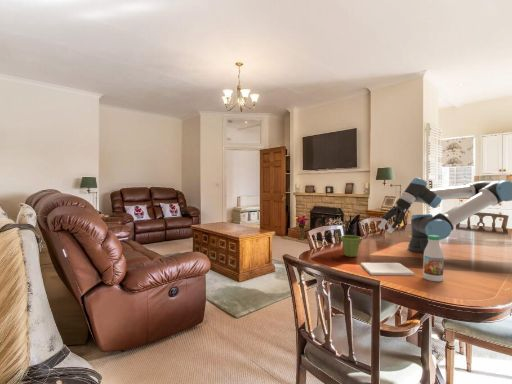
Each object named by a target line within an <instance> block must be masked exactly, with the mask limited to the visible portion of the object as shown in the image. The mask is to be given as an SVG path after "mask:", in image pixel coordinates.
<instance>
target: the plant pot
mask: <svg viewBox="0 0 512 384" xmlns="http://www.w3.org/2000/svg"><path fill="white" fill-rule="evenodd" d="M340 238H341V242H342V247H343V253H344V256H346V257H349V258H352V257H357V256H358V254H359V253H358V252H359V246H360V242H361V239H362V237H361V236H358V235H353V234H352V235H350V234H348V235H345V234H344V235H341V236H340Z"/></svg>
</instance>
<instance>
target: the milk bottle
mask: <svg viewBox="0 0 512 384" xmlns="http://www.w3.org/2000/svg"><path fill="white" fill-rule="evenodd" d="M422 266H423V269H422V270H423V273H422V274H423V275H422V276H423V279H425V280H427V281H430V282H443V280H444V252H443V249H442V247H441V244H440V236H437V235H428V244H427V246H426V248H425V250H424V253H423V264H422Z"/></svg>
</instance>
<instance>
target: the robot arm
mask: <svg viewBox="0 0 512 384" xmlns="http://www.w3.org/2000/svg"><path fill="white" fill-rule="evenodd" d="M427 185H428V183H427V181H426V180H425V179H423V178H421V177H414V178H413V179H412V180H411V181H410V182H409V184H408V185H407V187H406V188H405V189H404V191H403V192H401V195H400V198H398V199H397V201H396V202H395V204H396V206H395V205H393V206H392V208H391V209H389V210H388V211H387V212H386V213H385V214H384V215H382V216H383V217H382V218H383V219H382V220H381V222H380V223H379V224H378V225H377V229H380V230H383V228H384V227H385V226H386V224H387V223H388V222H389V220H390V219H392V217H394V216H395V218H394V220H393V221H392V222H391V224H390V225H389V227H388V228H387V229H386V232H387V233H388V234H393V232H394V230H396V228H397V226H398V225H401V224H402V223H403V221H404V218H405V216H406V214H407V212H408V210H409V209H410V207H411V206H412V205H413V204H414V203H420V204H426V205H428V206H429V207H431V208H436V207H438V206H439V205H440V204H441V202H442V201H445V200H452V199H453V200H454V199H461V198H463V199H464V198H467V200H465V201H463V202H461V203H460V204H458V205H457V206H455V207H453V208H451V209H450V210H448V211H446V212H445V213H441V212H438V213H436V214H435V215H434V216H433V214H431V213H429V214H426V213H425V214H412V215H411V219H410V221H411V222H410V223H411V225H410V227H411V229H410V230H411V231H410V232H411V233H410V235H411V236H410V240H409V242H408V245H407V249H408V250H409V251H412V252H416V253H421V254H422V253H423V254H424V250H425V248H426V246H427V244H428V235H437V236H440V240H445V239H447V238H448V237H449V236H450V235H451V232H452V231H453V230H454V229H455V227H456V226H457V225H458V224H460V223H462V222H464V221H465V220H467V219H469V218H471V217H472V216H474V215H476V214H477V213H479V212H481V211H482V210H485V209H486V208H487V207H488V208H489V206H492V207H494V206H497V205H499V204H500V203H503V202H510V201H512V181H510V180H507V179H500V180H498V179H495V180H493V179H487V180H486V179H485V180H481V181H476V182H469V183H466V184H465V185H457V186H448V187H436V188H428V187H427Z"/></svg>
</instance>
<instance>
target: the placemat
mask: <svg viewBox="0 0 512 384" xmlns="http://www.w3.org/2000/svg"><path fill="white" fill-rule="evenodd" d="M360 266H361V267H362V268H363V269H364V270H365V271H366V272H367V273H369V275H371V276H415V272H413V271H412V270H410V269H409V268H408V267H406V266H404V265H403V264H401V263H400V262H360Z"/></svg>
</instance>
